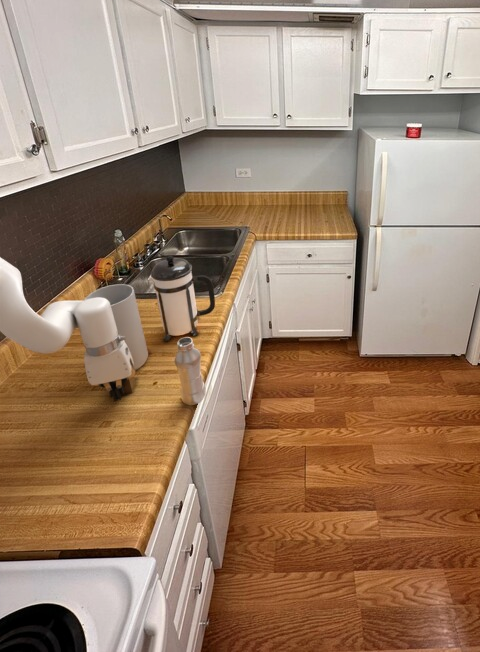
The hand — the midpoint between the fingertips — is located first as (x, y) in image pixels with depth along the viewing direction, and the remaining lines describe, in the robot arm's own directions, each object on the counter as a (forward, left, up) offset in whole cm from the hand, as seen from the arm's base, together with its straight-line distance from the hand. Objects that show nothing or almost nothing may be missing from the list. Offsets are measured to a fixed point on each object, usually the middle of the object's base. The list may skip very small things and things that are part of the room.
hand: (118, 396), depth 92 cm
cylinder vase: (0, +15, -2) cm, 15 cm away
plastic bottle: (+20, -7, -2) cm, 21 cm away
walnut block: (+1, +4, -1) cm, 4 cm away
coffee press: (+17, +27, -2) cm, 32 cm away
